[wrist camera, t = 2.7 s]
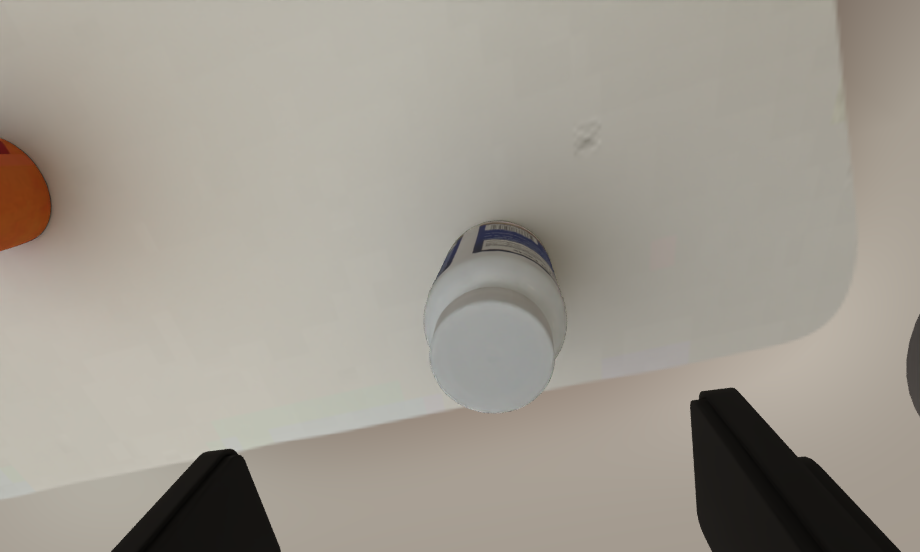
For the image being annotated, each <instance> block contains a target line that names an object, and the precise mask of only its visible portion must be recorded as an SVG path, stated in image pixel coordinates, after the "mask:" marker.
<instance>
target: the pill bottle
mask: <svg viewBox="0 0 920 552" xmlns="http://www.w3.org/2000/svg"><path fill="white" fill-rule="evenodd" d="M566 328H567V316H566V308H565V303H564V299H563V297H562V294H561V291H560V288H559V285H558V282H557V279H556V276H555V274H554V270H553V268H552V265H551V262H550V259H549V256H548V254H547V252H546V250H545V248H544V246H543V245H542V243H541V242H540V241H539V239H538V238H537V237H536V236H535V235H534V234H533V233H531V232H530V231H529V230H527V229H525V228H524V227H522V226H519V225H517V224H514V223H510V222H505V221H490V222H485V223H482V224H479V225H477V226H475V227H473V228H471V229H469V230H468V231H466V232H465V233H464V234H463V235H461V236H460V237H459V238H458V239H457V240H456V242H455V243H454V244H453V246H452V247H451V249H450V250H449V252H448V254H447V256H446V259H445V261H444V263H443V265H442V267H441V269H440V271H439V273H438V275H437V278H436V280H435V281H434V283H433V286H432V288H431V289H430V291H429V294H428V298H427V301H426V305H425V310H424V330H425V335H426V339H427V342H428V345H429V347H430V364H431V369H432V372H433V374H434V377H435V379H436V381H437V383H438V384H439V386H440V387H441V389H442V390H443V391H444V392H445V393H446V394H447V395H448V396H449V397H450V398H452V399H453V400H454V401H456V402H457V403H458V404H460V405H462V406H464V407H466V408H468V409H472V410H475V411H478V412H483V413H504V412H510V411H513V410H516V409H519V408H521V407H523V406H526V405H527V404H529V403H530V402H532V401H533V400H534V399H536V398H537V397H538V396H539V395H540V394H541V393H542V392H543V390H544V389H545V388H546V386H547V384H548V383H549V381H550V379H551V376H552V373H553V369H554V364H555V359H556V357H557V356H558V354H559V352H560V350H561V348H562V345H563V342H564V339H565V335H566Z"/></svg>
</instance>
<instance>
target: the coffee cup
mask: <svg viewBox="0 0 920 552" xmlns="http://www.w3.org/2000/svg"><path fill="white" fill-rule="evenodd" d="M50 212H51V203H50V196H49V191H48V188H47V185H46V183H45V181H44V178H43V176H42V175H41V173H40V171H39V170H38V168H37V167H36V165H35V164H34V163H33V162H32V160H31V159H30V158H29V157H28V156H27V155H26V154H25V153H24V152H23V151H21V150H20V149H19V148H17V147H16V146H15V145H13V144H11V143H10V142H8V141H6V140H3V139H1V138H0V251H2V250H5V249H8V248H12V247H15V246H18V245H20V244H23V243H26V242H28V241H31V240H33V239H35V238H36V237H38V236H39V235H40V234H41V233H42V232H43V231H44V229H45V228H46V226H47V224H48V221H49V217H50Z"/></svg>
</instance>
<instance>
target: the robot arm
mask: <svg viewBox="0 0 920 552" xmlns="http://www.w3.org/2000/svg"><path fill="white" fill-rule="evenodd" d="M690 410H691V427H692V441H693V457H694V472H695V488H696V504H697V515H698V520H699V523H700V527H701V529H702V532H703V534H704V536H705V538H706V540H707V542H708V544H709V546H710V548H711V550H712V552H901V551H900V550H899V549H898V548H897V547H896V546H895V545H894V544H893V543H892V542H891V541H890V540H889V539H888V538H887V536H886V535H885V534H884V533H883V532H882V531H881V530H880V529H879V528H878V527H877V526H876V525H875V524H874V523H873V522H872V520H871V519H870V518H869V517H868V516H867V515H866V514H865V513H864V512H863V511H862V510H861V509H860V508H859V507H858V506H857V505H856V504H855V503H854V501H853V500H852V499H851V498H850V497H849V496H848V495H847V494H846V493H845V492H844V491H843V490H842V489H841V488H840V487H839V486H838V485H837V484H836V483H835V481H834V480H833V479H832V478H831V477H830V476H829V475H828V474H827V473H826V472H825V471H824V470H823V469H822V468H821V467H820V466H819V465H818V464H817V463H816V462H815V461H813V460H812V459H810V458H808V457H797V456H796V455H795V454H794V452H793V451H792V450H791V449H790V448H789V447H788V446H787V445H786V444H785V443H784V442H783V440H782V439H781V438H780V437H779V436H778V435H777V434H776V433H775V431H774V430H773V429H772V428H771V427H770V426H769V425H768V424H767V423H766V422H765V420H764V419H763V418H762V417H761V416H760V415H759V414H758V413H757V412H756V410H755V409H754V408H753V407H752V406H751V405H750V404H749V403H748V402H747V401H746V399H745V398H744V397H743V396H742V395H741V394H740V393H739V392H738V391H737V390H736V389H735V388H725V389H717V390H708V391H702V392H700V395H699V400H692V401H691V404H690ZM111 552H281V550H280V547H279V544H278V542H277V539H276V537H275V534H274V532H273V529H272V527H271V524H270V522H269V519H268V517H267V514H266V512H265V509H264V507H263V504H262V502H261V499H260V497H259V494H258V492H257V490H256V487H255V484H254V482H253V480H252V477H251V475H250V472H249V470H248V467H247V465H246V462H245V460H244V458H243V457H242V456H241V455H238V454H237V452H236V451H234V450H233V449H224V450H216V451H208V452H205V453H203V454H201V455H200V456H199V457H198V458H197V459H196V460H195V461H194V462H193V463H192V465H191V466H190V467H189V468H188V469H187V470H186V471H185V472H184V473H183V474H182V475H181V476H180V478H179V479H178V480H177V481H176V482H175V483H174V484H173V485H172V486H171V487H170V489H168V491H167V492H166V493H165V494H164V495H163V496H162V497H161V498H160V499H159V500H158V502H156V504H155V505H154V506H153V507H152V508H151V509H150V510H149V511H148V512H147V513H146V514H145V515H144V517H143V518H142V519H141V520H140V521H139V522H138V523H137V524H136V526H134V528H132V530H131V531H130V532H129V533H128V534H127V535H126V536H125V537H124V538H123V539H122V540H121V542H120V543H119V544H118V545H117V546H116V547H115V548H114V549H113V550H112V551H111Z"/></svg>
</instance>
